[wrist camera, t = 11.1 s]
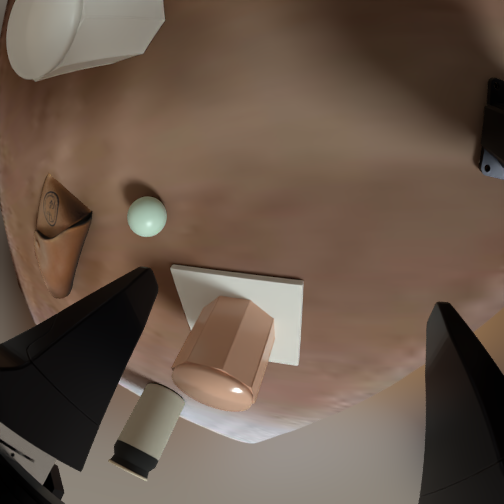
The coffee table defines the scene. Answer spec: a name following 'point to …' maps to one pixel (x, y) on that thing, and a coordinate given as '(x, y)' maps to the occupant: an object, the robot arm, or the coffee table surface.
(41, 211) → the sunglasses case
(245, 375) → the terracotta cup
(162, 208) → the pale green marble
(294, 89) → the coffee table surface
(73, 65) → the off-white cup
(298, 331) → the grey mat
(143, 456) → the travel mug
